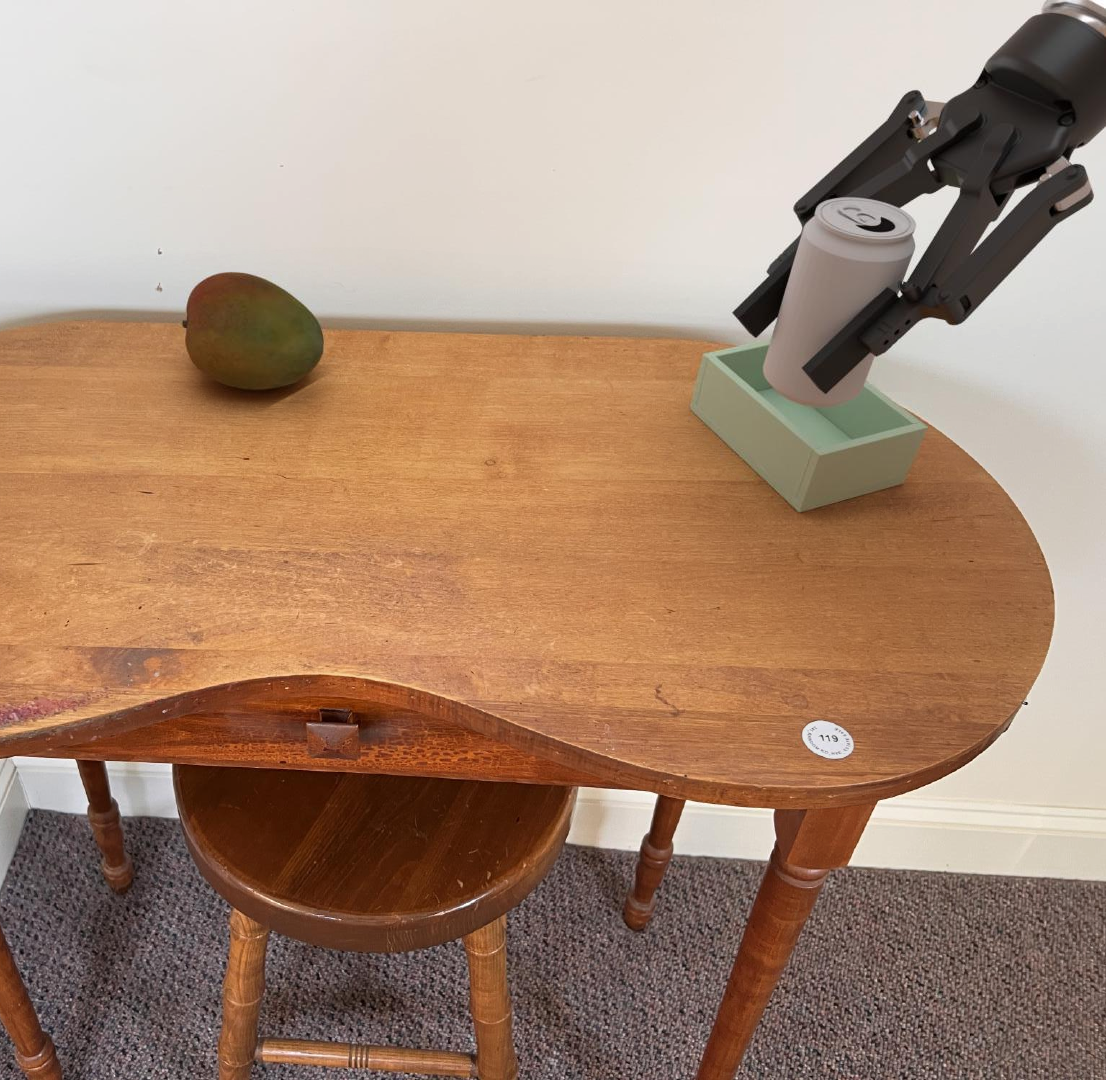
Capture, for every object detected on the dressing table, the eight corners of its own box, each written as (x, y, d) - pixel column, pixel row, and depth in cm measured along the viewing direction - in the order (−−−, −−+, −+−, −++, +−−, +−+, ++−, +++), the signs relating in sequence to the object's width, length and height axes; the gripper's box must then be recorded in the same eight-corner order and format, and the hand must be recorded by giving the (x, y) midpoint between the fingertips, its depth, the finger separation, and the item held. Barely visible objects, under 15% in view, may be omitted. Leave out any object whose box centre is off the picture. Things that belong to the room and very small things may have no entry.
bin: (903, 484, 86) (928, 427, 82) (798, 513, 83) (820, 455, 79) (785, 386, 97) (802, 331, 93) (689, 408, 94) (702, 353, 90)
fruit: (191, 347, 100) (178, 252, 94) (320, 340, 102) (316, 246, 95) (188, 416, 92) (174, 316, 85) (328, 408, 93) (325, 309, 86)
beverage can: (810, 424, 66) (871, 249, 58) (739, 375, 70) (786, 205, 62) (880, 397, 68) (948, 225, 60) (807, 351, 72) (861, 184, 64)
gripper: (1250, 155, 55) (903, 463, 62) (975, 47, 68) (714, 310, 75) (1236, 62, 50) (861, 408, 57) (943, -35, 63) (666, 254, 70)
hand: (778, 352), depth 66 cm, fingers closed on beverage can, 6 cm apart
